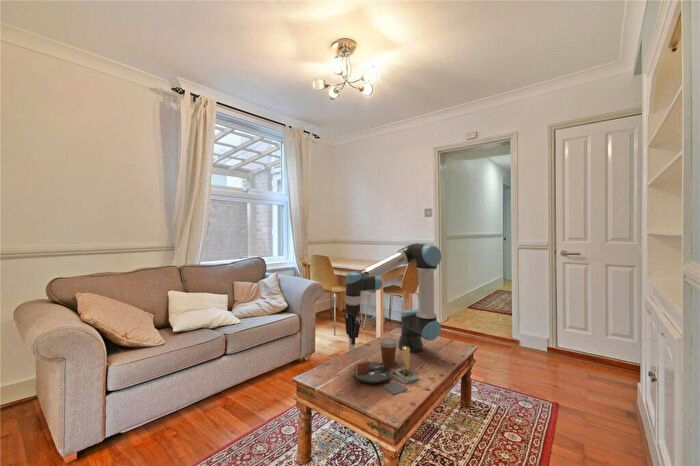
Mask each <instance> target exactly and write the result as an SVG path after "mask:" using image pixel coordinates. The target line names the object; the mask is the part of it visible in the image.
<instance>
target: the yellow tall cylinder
mask: <svg viewBox="0 0 700 466" xmlns="http://www.w3.org/2000/svg"><path fill="white" fill-rule="evenodd" d="M410 357H411V352H410V347H408V346H402V350H401V368H402V375H403V376H408V375H409V369H410V362H411V359H410Z"/></svg>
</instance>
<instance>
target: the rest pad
mask: <svg viewBox="0 0 700 466" xmlns="http://www.w3.org/2000/svg"><path fill="white" fill-rule="evenodd" d="M382 387H383V388H384V389H385V390H387V391H388V392H389V393H390V394H392V395H393V396H395V395H398V394H400V393H404V392H405V391H408V388H406V387H405V386H403V385H402V384H400V383H399V382H398V381H393V382H389V383H387V384H384V385H382Z"/></svg>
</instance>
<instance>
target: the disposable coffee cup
mask: <svg viewBox="0 0 700 466" xmlns="http://www.w3.org/2000/svg"><path fill="white" fill-rule="evenodd" d="M379 345H380V351H381V360H382V361H381V363H382V364H384V365H386V366H393V365H395V359H396V351H397V347H398V342H397V340H396V339H395V338H390V337H384V338H381V339H380V341H379Z"/></svg>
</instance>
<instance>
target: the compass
mask: <svg viewBox="0 0 700 466" xmlns="http://www.w3.org/2000/svg"><path fill="white" fill-rule="evenodd" d="M353 377H354V378H356V380H358V381H361V382H362V383H366V384H381V383H384V382H387V381H388V380H389V379H390V377H391V369H390V367H389V366H388V365H385V364H383V362H379V361H370V360H364V361H360V362H357V363H355V366H354V367H353Z"/></svg>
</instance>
